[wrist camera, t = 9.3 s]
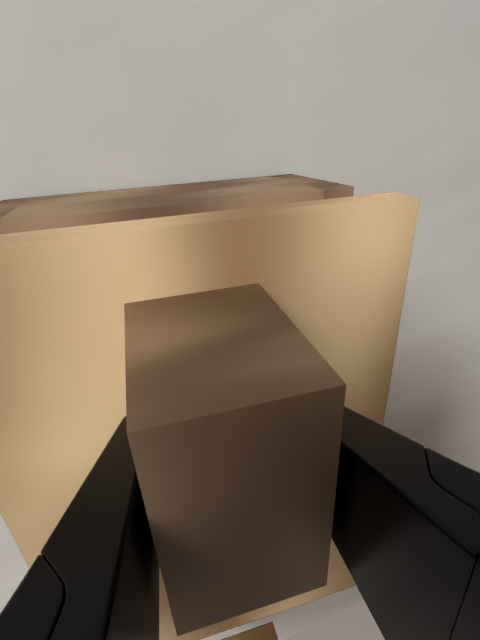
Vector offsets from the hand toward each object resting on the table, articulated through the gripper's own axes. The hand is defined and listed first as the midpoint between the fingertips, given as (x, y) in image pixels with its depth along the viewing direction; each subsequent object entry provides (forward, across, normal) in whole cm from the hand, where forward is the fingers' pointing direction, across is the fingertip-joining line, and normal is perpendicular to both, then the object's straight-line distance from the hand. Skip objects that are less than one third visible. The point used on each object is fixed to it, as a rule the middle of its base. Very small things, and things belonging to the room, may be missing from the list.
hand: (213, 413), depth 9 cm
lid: (+2, 0, +4) cm, 4 cm away
